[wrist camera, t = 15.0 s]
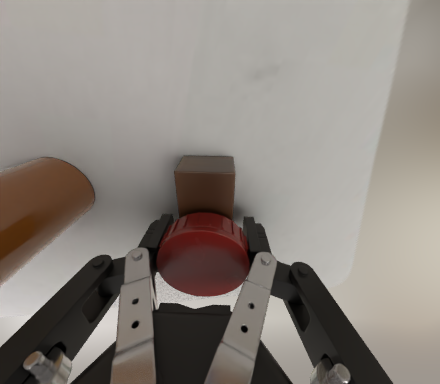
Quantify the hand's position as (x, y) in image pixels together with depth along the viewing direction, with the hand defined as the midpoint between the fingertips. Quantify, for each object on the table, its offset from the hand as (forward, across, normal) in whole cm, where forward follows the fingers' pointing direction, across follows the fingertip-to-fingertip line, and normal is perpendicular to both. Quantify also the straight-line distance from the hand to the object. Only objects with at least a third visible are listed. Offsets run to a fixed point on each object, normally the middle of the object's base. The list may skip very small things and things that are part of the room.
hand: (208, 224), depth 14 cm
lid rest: (+1, 0, 0) cm, 1 cm away
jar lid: (-4, 0, 0) cm, 4 cm away
